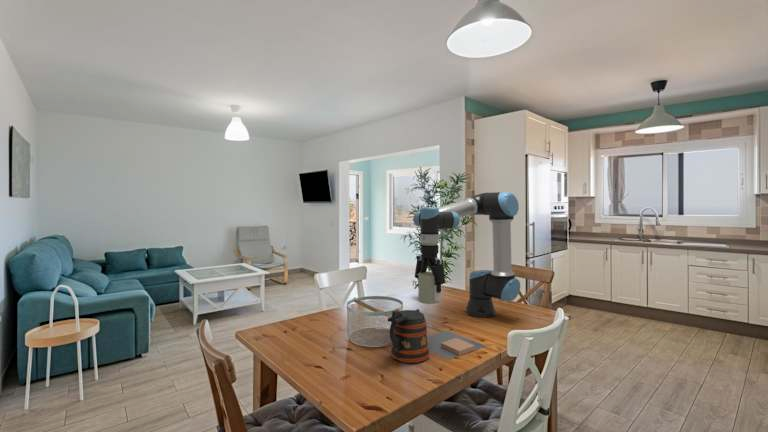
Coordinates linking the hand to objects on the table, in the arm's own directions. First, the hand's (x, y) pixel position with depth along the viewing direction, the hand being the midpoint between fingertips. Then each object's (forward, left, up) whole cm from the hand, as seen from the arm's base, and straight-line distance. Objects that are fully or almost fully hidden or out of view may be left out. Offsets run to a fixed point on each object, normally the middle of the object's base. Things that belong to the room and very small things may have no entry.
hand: (429, 297), depth 151 cm
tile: (-9, +12, -18) cm, 23 cm away
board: (-5, +6, -20) cm, 21 cm away
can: (0, 0, -2) cm, 2 cm away
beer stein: (+16, +5, -20) cm, 26 cm away
